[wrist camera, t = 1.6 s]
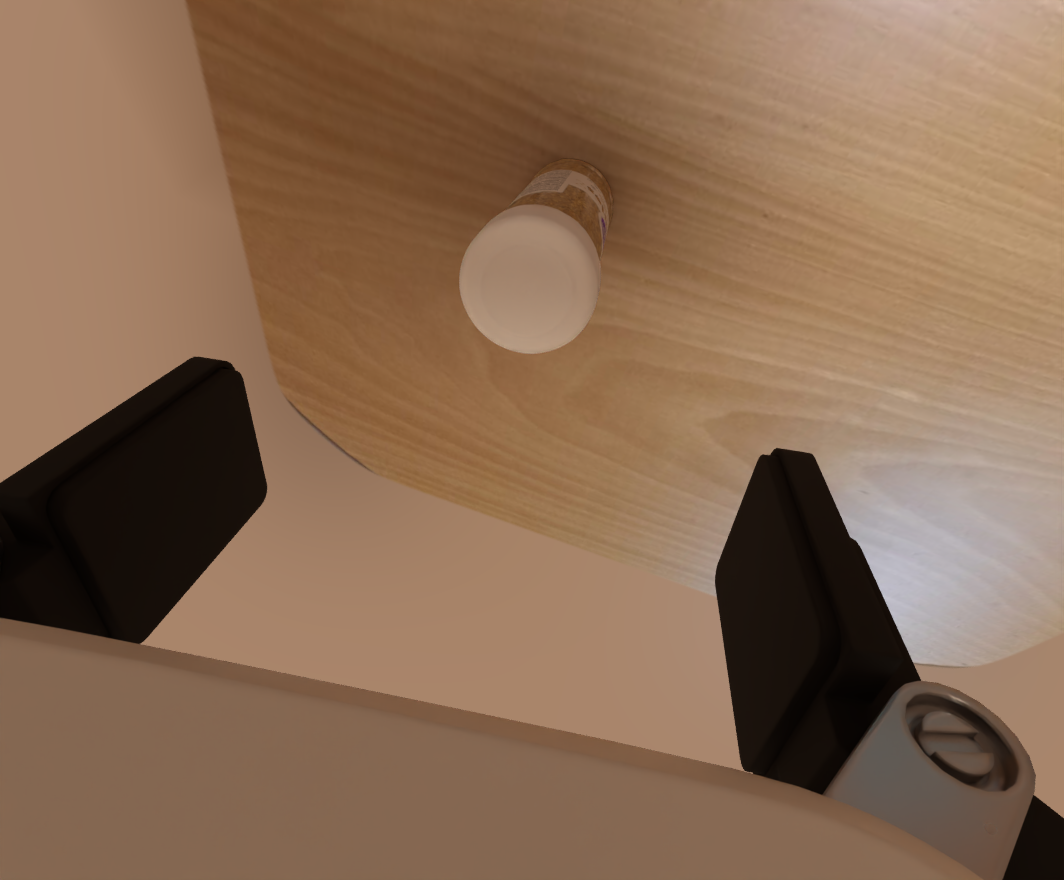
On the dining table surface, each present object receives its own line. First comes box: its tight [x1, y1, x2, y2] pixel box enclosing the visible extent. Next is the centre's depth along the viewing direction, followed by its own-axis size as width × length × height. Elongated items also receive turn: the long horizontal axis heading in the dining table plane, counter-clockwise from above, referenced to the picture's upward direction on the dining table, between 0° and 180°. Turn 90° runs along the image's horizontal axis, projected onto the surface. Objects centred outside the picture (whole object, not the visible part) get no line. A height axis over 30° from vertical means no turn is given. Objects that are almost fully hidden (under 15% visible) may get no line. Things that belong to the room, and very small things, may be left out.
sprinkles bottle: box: [459, 159, 613, 354], centre depth 24 cm, size 5×4×14 cm
